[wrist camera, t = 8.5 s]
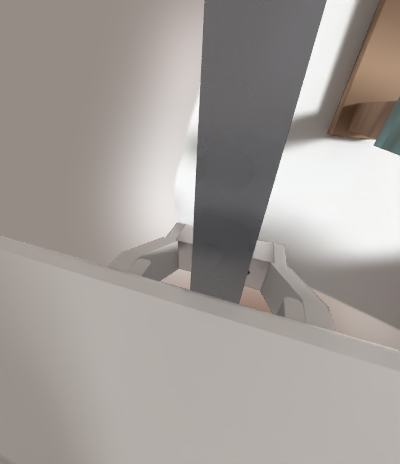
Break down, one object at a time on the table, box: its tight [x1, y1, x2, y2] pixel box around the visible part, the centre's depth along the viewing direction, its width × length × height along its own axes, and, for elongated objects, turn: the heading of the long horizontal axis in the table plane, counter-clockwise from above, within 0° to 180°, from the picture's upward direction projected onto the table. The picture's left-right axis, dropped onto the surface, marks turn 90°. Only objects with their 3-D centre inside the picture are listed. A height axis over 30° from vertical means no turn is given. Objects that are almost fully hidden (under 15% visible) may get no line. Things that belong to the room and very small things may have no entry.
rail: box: [190, 0, 327, 304], centre depth 9 cm, size 16×2×2 cm, turn 177°
